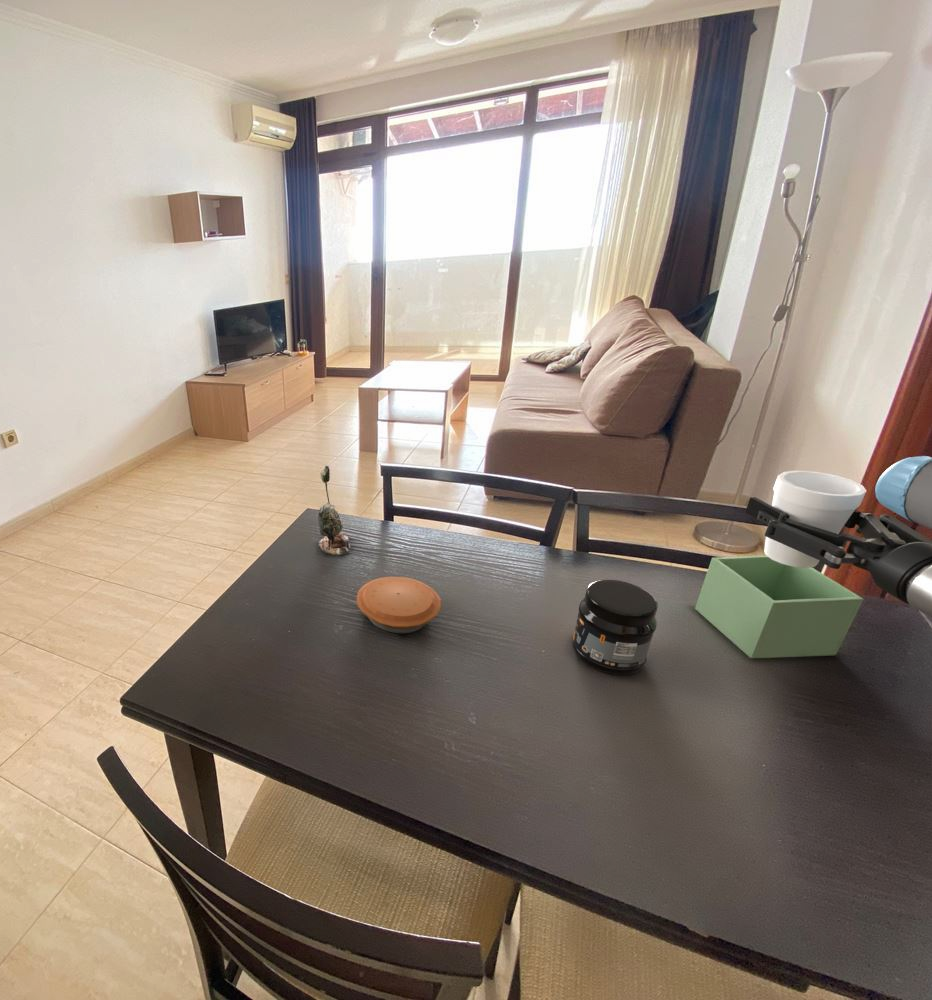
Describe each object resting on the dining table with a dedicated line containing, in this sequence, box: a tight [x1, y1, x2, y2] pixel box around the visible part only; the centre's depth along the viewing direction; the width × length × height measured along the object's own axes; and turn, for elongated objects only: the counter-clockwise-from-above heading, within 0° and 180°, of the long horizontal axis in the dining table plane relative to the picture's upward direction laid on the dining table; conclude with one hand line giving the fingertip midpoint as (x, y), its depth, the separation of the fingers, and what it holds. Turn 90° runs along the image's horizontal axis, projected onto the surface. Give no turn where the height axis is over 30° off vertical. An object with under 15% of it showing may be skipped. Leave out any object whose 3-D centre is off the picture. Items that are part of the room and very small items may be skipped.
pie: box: [356, 576, 442, 634], centre depth 102 cm, size 15×16×5 cm
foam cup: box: [763, 470, 867, 568], centre depth 83 cm, size 10×9×13 cm
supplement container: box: [571, 579, 659, 676], centre depth 87 cm, size 10×10×12 cm
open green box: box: [694, 554, 864, 659], centre depth 89 cm, size 13×13×11 cm
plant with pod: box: [317, 465, 352, 556], centre depth 123 cm, size 8×11×20 cm
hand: (782, 503), depth 86 cm, fingers closed on foam cup, 9 cm apart
